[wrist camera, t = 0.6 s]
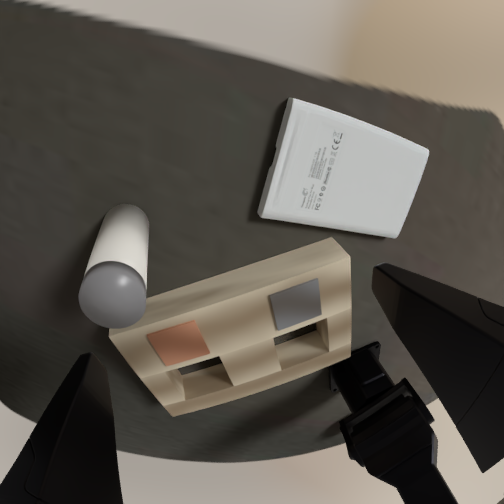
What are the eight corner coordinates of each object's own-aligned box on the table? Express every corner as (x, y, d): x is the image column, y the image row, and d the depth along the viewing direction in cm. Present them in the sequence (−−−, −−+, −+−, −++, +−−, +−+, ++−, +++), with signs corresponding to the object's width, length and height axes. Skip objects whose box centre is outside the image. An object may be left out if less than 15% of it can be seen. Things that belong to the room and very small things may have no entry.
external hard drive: (386, 231, 27) (254, 210, 22) (418, 145, 23) (285, 96, 19) (396, 240, 25) (261, 220, 21) (430, 150, 22) (295, 97, 17)
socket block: (337, 336, 31) (351, 357, 28) (169, 392, 29) (173, 418, 27) (331, 236, 25) (351, 257, 22) (111, 309, 23) (108, 338, 20)
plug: (156, 238, 21) (156, 318, 14) (114, 253, 21) (99, 335, 14) (139, 196, 19) (128, 263, 13) (95, 213, 19) (66, 285, 12)
